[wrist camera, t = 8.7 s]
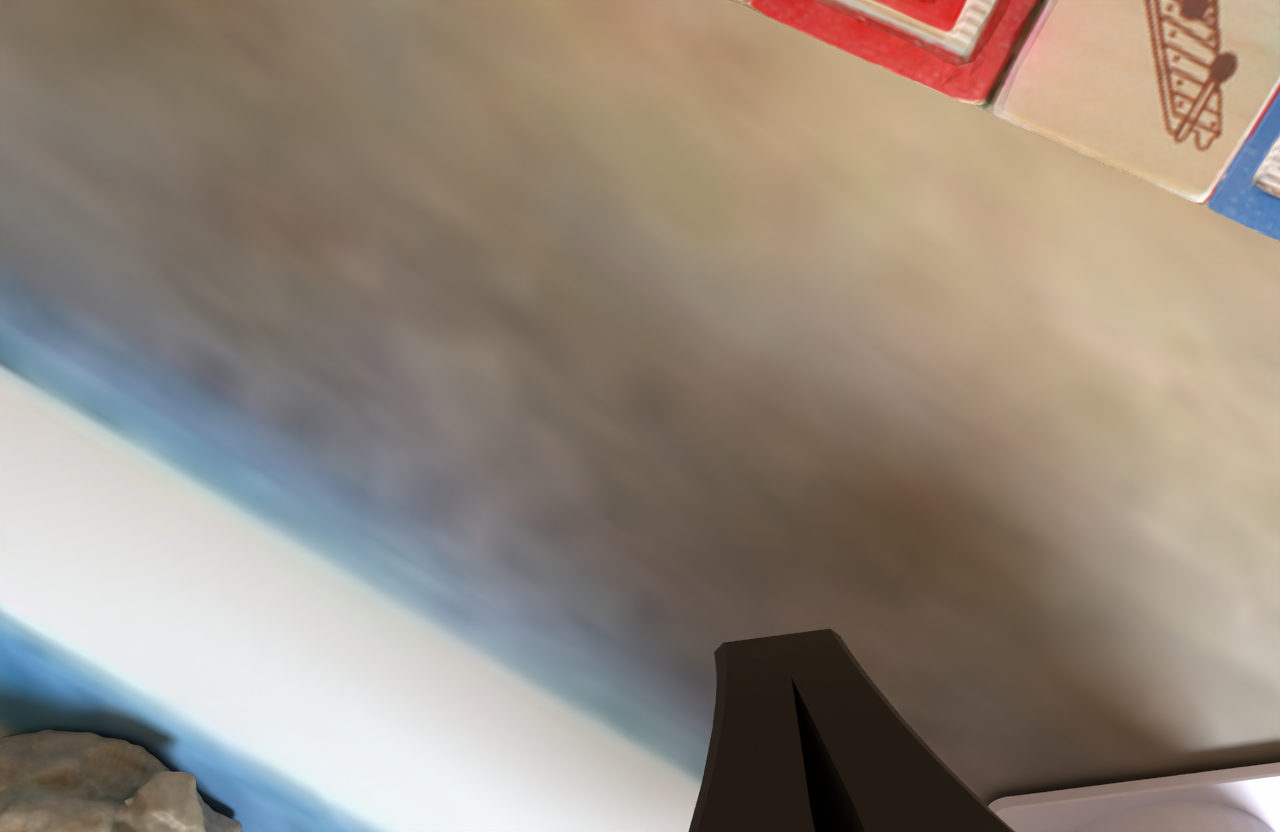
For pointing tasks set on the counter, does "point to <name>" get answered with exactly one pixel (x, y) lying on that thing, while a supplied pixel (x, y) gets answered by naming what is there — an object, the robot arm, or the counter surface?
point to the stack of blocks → (1096, 80)
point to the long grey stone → (96, 788)
